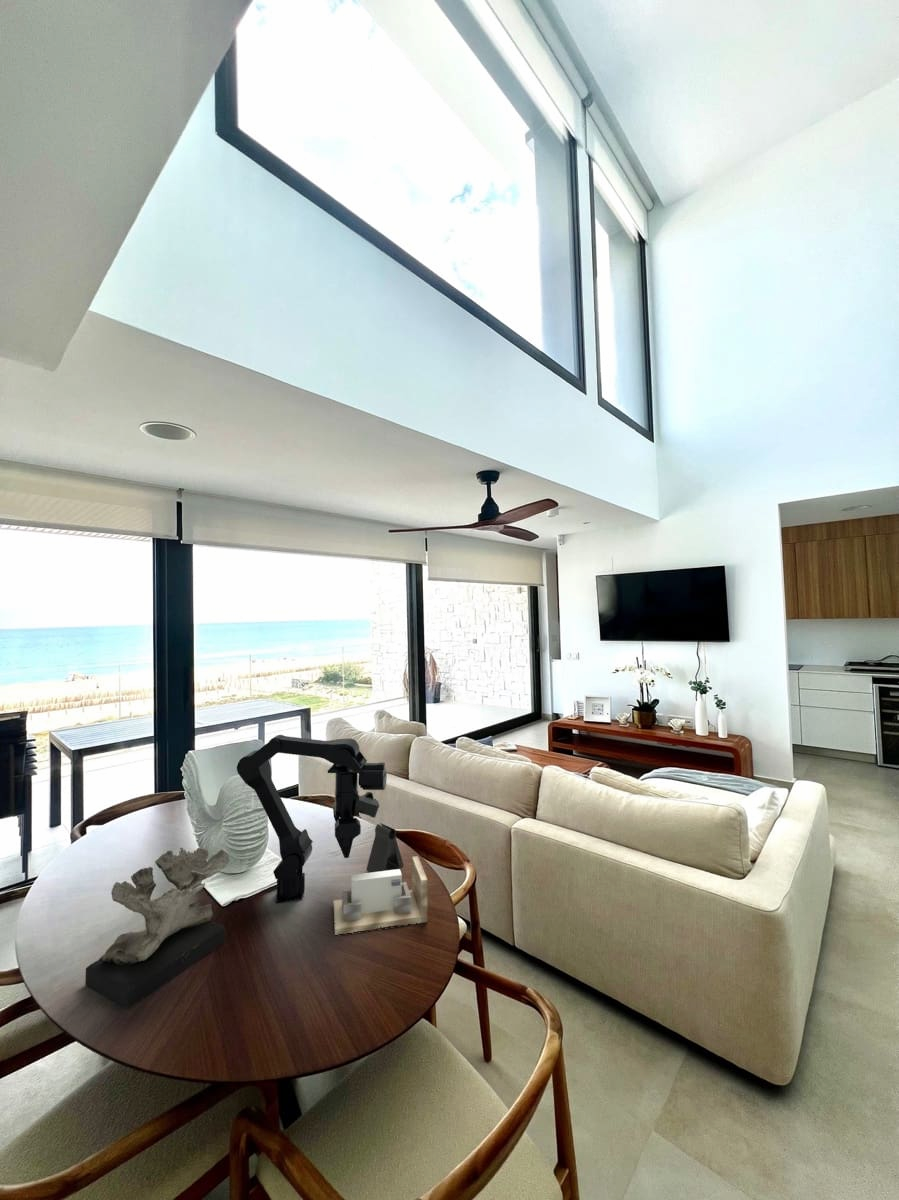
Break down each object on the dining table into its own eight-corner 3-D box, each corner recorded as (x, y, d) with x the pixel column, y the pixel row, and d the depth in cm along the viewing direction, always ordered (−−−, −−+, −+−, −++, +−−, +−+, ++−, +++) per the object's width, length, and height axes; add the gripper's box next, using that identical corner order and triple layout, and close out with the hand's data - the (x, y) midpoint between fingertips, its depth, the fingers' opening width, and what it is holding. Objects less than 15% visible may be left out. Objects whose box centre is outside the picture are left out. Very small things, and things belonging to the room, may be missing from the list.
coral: (198, 917, 121) (200, 827, 121) (257, 944, 111) (259, 846, 112) (82, 984, 99) (86, 874, 99) (144, 1024, 89) (147, 901, 90)
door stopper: (379, 878, 139) (379, 834, 140) (366, 870, 144) (366, 828, 144) (403, 866, 146) (404, 824, 146) (390, 859, 150) (390, 819, 150)
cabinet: (335, 936, 114) (335, 891, 114) (333, 906, 125) (334, 866, 126) (427, 922, 119) (427, 879, 120) (417, 894, 131) (417, 856, 131)
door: (351, 917, 119) (352, 882, 119) (350, 908, 122) (351, 874, 123) (402, 910, 122) (402, 876, 122) (399, 901, 125) (399, 868, 126)
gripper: (381, 798, 124) (380, 862, 124) (373, 775, 142) (373, 831, 142) (335, 802, 121) (334, 868, 121) (333, 778, 139) (332, 835, 139)
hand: (345, 849), depth 131 cm, fingers open, 9 cm apart
